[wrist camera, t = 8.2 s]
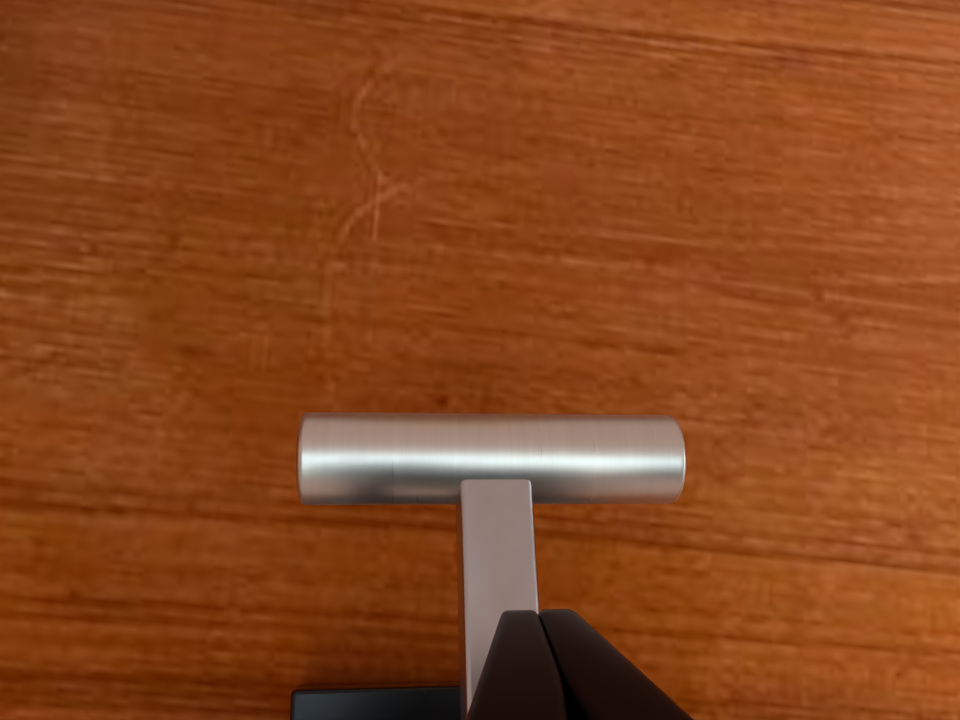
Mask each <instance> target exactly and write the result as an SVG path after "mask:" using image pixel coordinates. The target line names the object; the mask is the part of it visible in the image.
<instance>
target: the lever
mask: <svg viewBox="0 0 960 720" xmlns="http://www.w3.org/2000/svg"><path fill="white" fill-rule="evenodd" d="M685 476H686V448H685V442H684V437H683V433H682V430H681V427H680V425H679V423H678V421H677V420H676V419H675V418H674V417H672V416H670V415H615V414H482V413H349V412H307V413H305V414H303V415H302V417H301V420H300V423H299V429H298V439H297V459H296V477H297V492H298V497H299V500H300V502H301V503H302V504H304V505H436V504H456V533H457V576H458V620H459V663H460V706H461V720H466V717H467V714H468V711H469V709H470V706H471V703H472V700H473V697H474V694H475V691H476V688H477V685H478V682H479V679H480V676H481V673H482V670H483V667H484V664H485V661H486V658H487V655H488V652H489V649H490V646H491V643H492V640H493V637H494V634H495V631H496V628H497V625H498V622H499V620H500V617H501V614H502V613H503V612H504V611H506V610H533V611H535V612H537V614H538V613H539V612H540V611H539V595H538V580H537V564H536V548H535V533H534V517H533V504H670V503H673V502H675V501H677V500H678V498H679V497H680V495H681V493H682V490H683V486H684V482H685Z"/></svg>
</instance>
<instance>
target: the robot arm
mask: <svg viewBox="0 0 960 720" xmlns="http://www.w3.org/2000/svg"><path fill="white" fill-rule="evenodd" d="M466 720H694V719H692V718H691V717H690V716H689V715H688V714H687V713H686V712H685V711H684V710H683V709H681V708H680V707H679V706H678V705H677V704H676V703H675V702H674V701H673V700H672V699H670V698H669V697H668V696H667V695H666V694H665V693H664V692H663V691H662V690H661V689H659V688H658V687H657V686H656V685H655V684H654V683H653V682H652V681H651V680H650V679H648V678H647V677H646V676H645V675H644V674H643V673H642V672H641V671H640V670H639V669H637V668H636V667H635V666H634V665H633V664H632V663H631V662H630V661H629V660H628V659H626V658H625V657H624V656H623V655H622V654H621V653H620V652H619V651H618V650H617V649H615V648H614V647H613V646H612V645H611V644H610V643H609V642H608V641H607V640H606V639H604V638H603V637H602V636H601V635H600V634H599V633H598V632H597V631H596V630H595V629H593V628H592V627H591V626H590V625H589V624H588V623H587V622H586V621H585V620H584V619H582V618H581V617H580V616H579V615H578V614H577V613H576V612H574V611H572V610H570V609H552V610H542V611H540V612H539V613H538V614H537V612H535V611H533V610H506V611H504V612H503V613H502V614H501V617H500V620H499V622H498V625H497V628H496V631H495V634H494V637H493V640H492V643H491V646H490V649H489V652H488V655H487V658H486V661H485V664H484V667H483V670H482V673H481V676H480V679H479V682H478V685H477V688H476V691H475V694H474V697H473V700H472V703H471V706H470V709H469V711H468V714H467V717H466Z"/></svg>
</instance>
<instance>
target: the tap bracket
mask: <svg viewBox="0 0 960 720" xmlns="http://www.w3.org/2000/svg"><path fill="white" fill-rule="evenodd" d="M290 720H461V706H460V681H438V682H398V683H359V684H319V685H300V686H298V687H296V688H295V689H294V690H293V692H292V694H291V713H290Z"/></svg>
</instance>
